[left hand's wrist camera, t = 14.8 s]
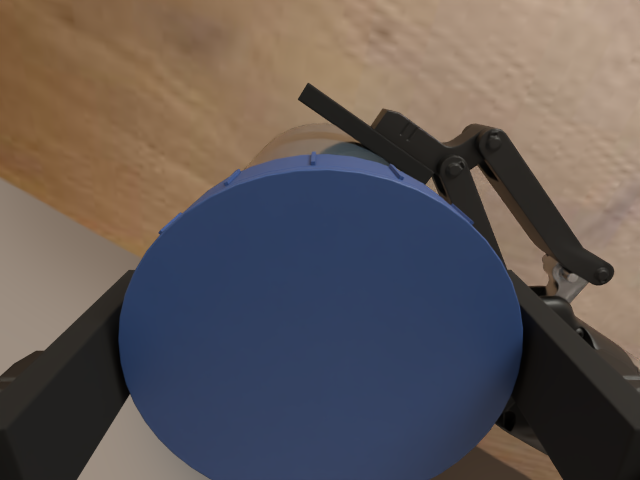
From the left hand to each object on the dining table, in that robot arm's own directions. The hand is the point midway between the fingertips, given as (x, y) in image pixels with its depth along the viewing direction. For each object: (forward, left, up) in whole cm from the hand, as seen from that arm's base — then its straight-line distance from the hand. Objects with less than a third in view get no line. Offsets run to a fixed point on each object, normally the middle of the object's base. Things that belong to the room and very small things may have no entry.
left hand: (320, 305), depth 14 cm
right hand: (-4, -1, -7) cm, 8 cm away
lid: (0, 0, +3) cm, 3 cm away
